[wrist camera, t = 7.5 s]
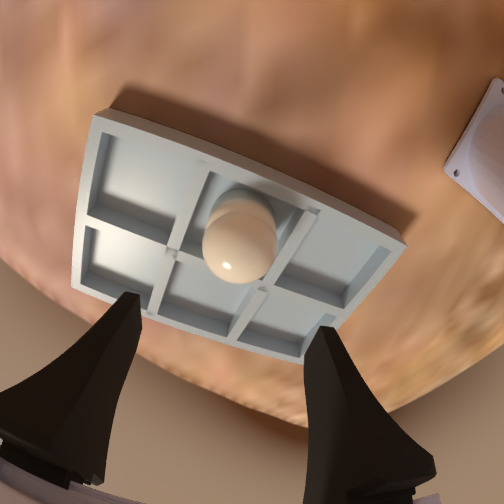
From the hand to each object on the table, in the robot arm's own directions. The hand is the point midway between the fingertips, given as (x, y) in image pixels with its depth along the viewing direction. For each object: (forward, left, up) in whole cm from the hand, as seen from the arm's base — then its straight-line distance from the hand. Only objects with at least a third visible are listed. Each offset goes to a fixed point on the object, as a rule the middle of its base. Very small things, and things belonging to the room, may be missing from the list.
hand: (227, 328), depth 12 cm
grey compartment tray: (0, +3, -9) cm, 10 cm away
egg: (0, 0, -9) cm, 9 cm away
